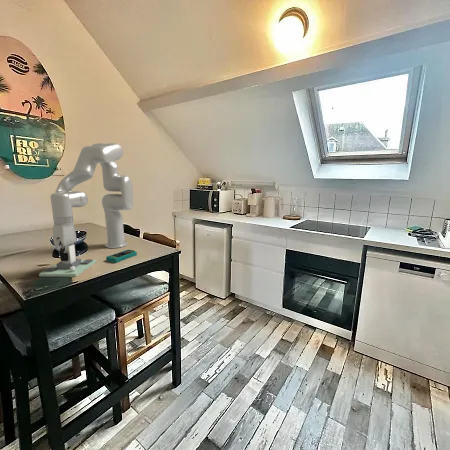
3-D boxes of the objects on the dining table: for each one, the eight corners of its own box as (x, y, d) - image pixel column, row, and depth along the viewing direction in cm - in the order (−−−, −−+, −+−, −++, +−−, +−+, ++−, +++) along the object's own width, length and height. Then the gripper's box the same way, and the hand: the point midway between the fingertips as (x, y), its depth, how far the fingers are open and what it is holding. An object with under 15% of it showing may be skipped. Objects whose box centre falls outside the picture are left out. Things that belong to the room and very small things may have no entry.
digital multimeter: (138, 255, 140) (137, 250, 139) (115, 264, 127) (115, 258, 127) (128, 253, 143) (128, 248, 143) (105, 261, 130) (105, 256, 130)
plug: (67, 260, 121) (65, 244, 120) (76, 261, 121) (74, 244, 120) (61, 264, 116) (59, 247, 115) (69, 264, 116) (68, 247, 115)
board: (64, 261, 129) (63, 254, 128) (96, 262, 129) (95, 255, 128) (39, 276, 111) (37, 268, 110) (75, 276, 111) (74, 268, 110)
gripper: (66, 217, 123) (71, 253, 127) (42, 224, 107) (47, 265, 110) (82, 217, 123) (86, 253, 127) (60, 224, 107) (65, 265, 110)
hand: (68, 258), depth 119 cm, fingers closed on plug, 4 cm apart
